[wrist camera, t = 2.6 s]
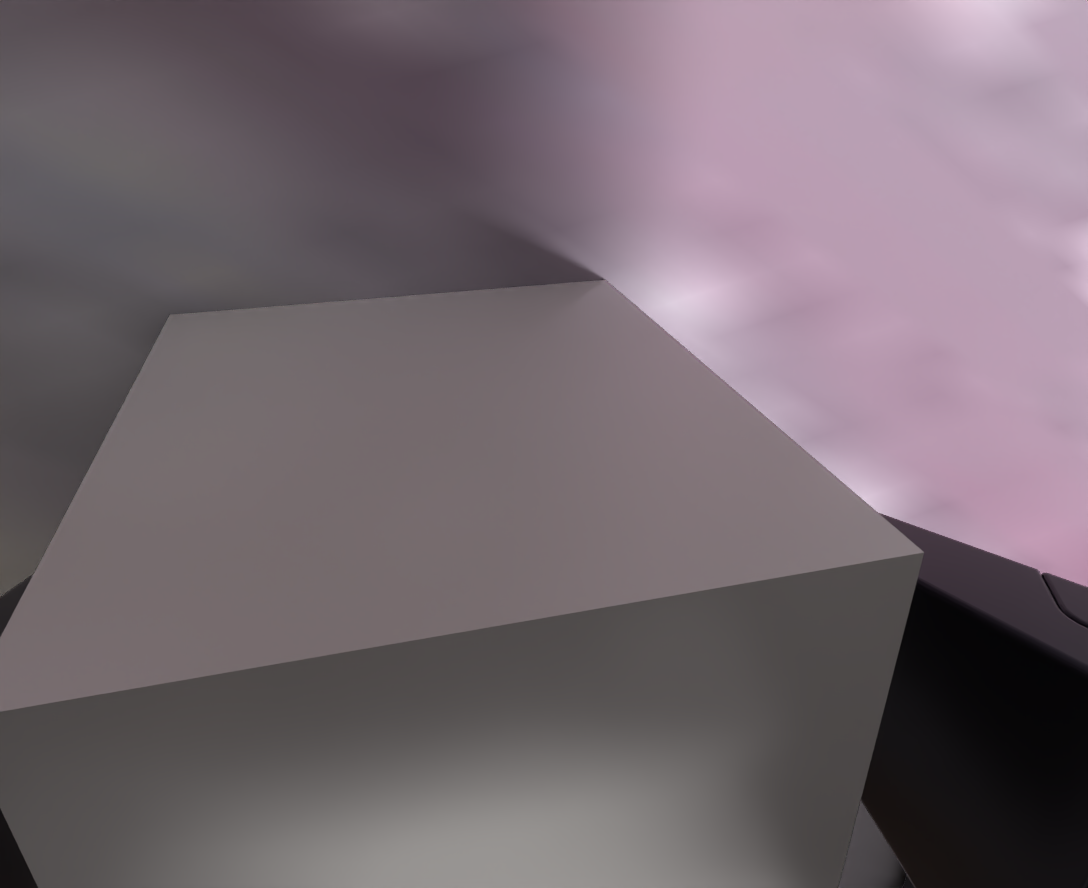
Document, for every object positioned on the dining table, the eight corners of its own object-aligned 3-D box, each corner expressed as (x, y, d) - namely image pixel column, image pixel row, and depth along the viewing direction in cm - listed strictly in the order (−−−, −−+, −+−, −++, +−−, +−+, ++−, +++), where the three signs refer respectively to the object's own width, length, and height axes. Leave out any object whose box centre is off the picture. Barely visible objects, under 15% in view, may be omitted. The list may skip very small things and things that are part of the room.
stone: (604, 279, 10) (924, 552, 5) (595, 602, 12) (803, 1025, 7) (169, 312, 9) (-43, 720, 4) (251, 660, 11) (192, 1212, 6)
